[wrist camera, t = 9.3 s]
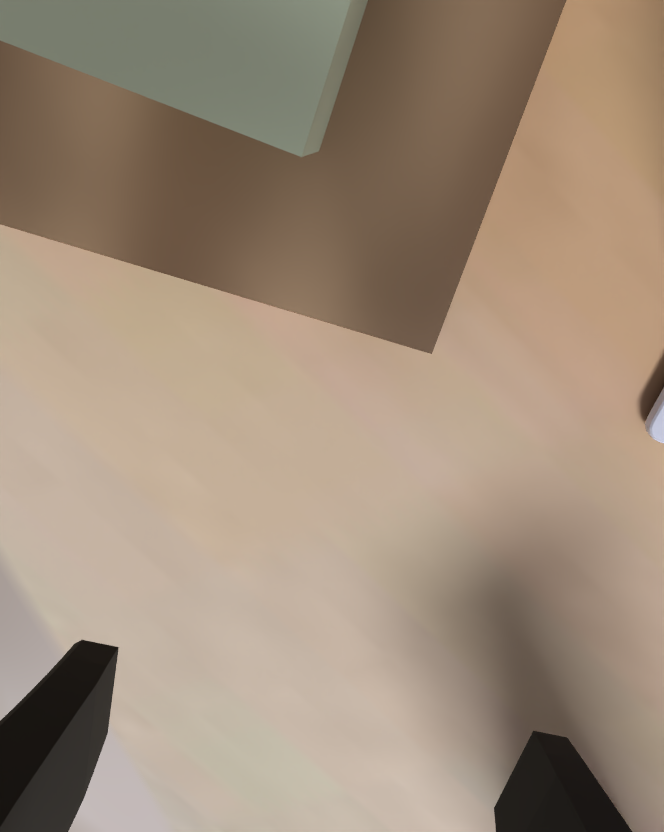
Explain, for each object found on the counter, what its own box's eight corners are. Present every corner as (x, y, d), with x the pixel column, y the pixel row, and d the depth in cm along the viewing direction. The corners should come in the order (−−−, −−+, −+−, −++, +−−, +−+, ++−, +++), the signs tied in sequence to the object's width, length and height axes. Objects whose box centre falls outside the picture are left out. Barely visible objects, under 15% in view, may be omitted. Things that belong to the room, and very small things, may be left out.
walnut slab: (613, -208, 13) (679, -297, 11) (420, 321, 18) (431, 354, 15) (48, -427, 12) (-38, -587, 10) (-2, 192, 17) (-69, 203, 14)
